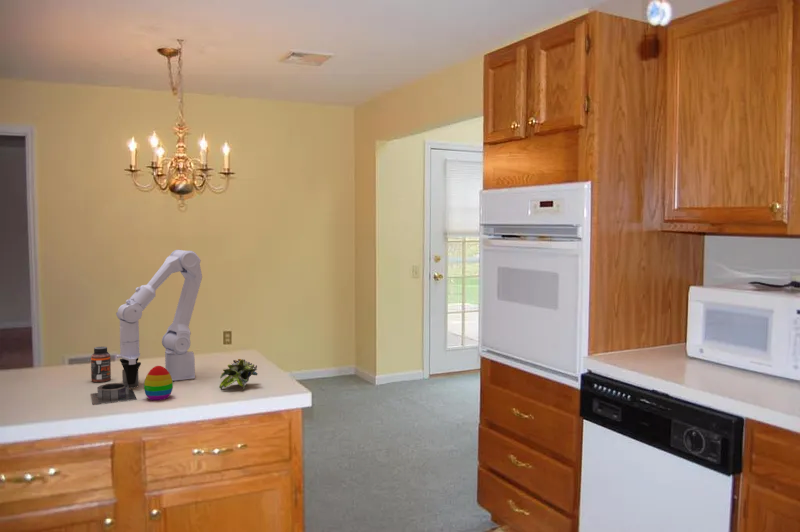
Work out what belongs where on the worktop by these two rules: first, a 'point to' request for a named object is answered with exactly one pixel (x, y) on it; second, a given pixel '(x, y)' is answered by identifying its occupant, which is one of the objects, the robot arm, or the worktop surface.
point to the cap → (126, 380)
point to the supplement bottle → (100, 365)
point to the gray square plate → (113, 393)
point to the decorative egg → (158, 384)
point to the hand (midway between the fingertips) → (130, 381)
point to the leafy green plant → (238, 373)
